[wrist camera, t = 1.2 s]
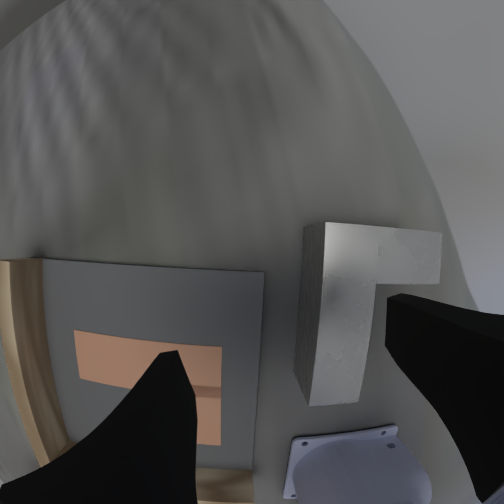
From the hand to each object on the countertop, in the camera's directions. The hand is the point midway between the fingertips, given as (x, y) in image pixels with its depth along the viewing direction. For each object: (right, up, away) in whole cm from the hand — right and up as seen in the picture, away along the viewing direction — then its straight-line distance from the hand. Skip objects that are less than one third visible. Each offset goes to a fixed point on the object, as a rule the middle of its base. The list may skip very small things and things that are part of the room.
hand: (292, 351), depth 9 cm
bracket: (+6, 0, +10) cm, 12 cm away
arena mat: (-10, -7, +10) cm, 16 cm away
